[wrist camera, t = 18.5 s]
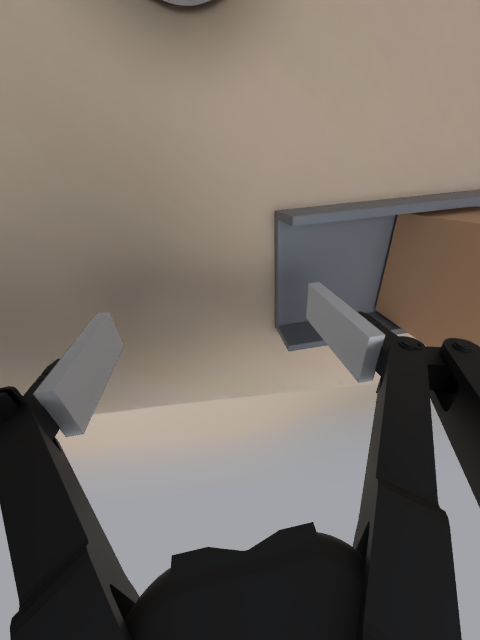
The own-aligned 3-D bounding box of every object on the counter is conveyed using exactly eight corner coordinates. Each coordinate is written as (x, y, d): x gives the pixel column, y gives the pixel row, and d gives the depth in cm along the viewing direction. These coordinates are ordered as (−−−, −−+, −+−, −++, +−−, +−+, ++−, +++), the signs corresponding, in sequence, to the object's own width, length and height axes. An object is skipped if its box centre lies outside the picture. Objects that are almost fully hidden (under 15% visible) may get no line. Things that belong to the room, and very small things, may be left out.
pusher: (375, 309, 24) (487, 388, 15) (398, 212, 20) (581, 237, 10) (428, 302, 25) (569, 373, 15) (463, 205, 20) (694, 222, 11)
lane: (275, 326, 25) (288, 351, 21) (274, 210, 19) (292, 216, 16) (479, 296, 27) (524, 314, 23) (532, 184, 21) (602, 183, 18)
